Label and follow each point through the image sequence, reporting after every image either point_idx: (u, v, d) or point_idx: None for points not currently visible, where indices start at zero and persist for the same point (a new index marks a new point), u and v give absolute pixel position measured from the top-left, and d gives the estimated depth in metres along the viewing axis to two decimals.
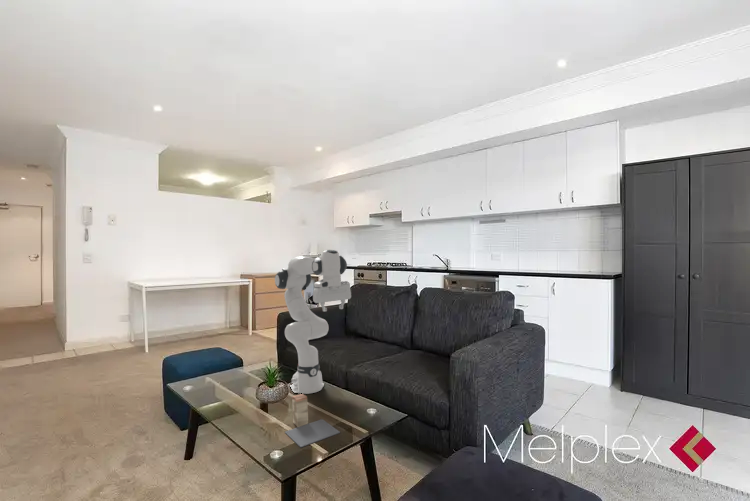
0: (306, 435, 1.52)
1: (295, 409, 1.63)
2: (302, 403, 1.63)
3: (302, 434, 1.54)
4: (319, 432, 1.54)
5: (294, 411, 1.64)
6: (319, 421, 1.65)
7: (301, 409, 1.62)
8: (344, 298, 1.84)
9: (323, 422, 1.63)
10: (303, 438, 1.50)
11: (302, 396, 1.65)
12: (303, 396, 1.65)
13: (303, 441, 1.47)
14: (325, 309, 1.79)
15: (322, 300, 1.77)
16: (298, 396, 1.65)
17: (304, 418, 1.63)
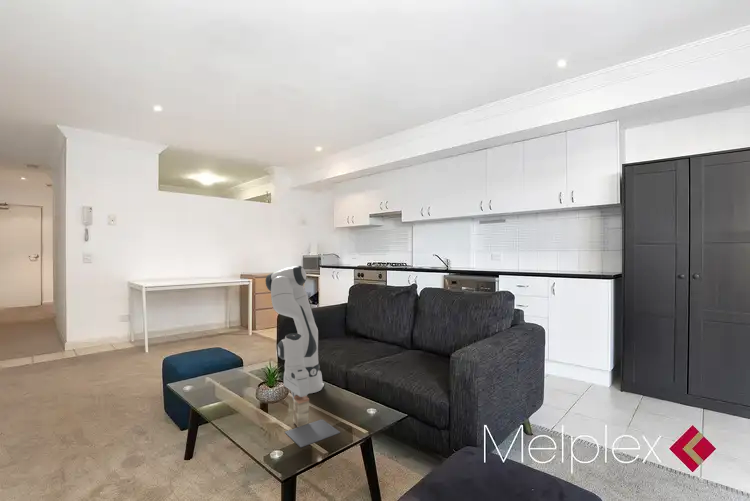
0: (306, 435, 1.52)
1: (296, 409, 1.62)
2: (304, 404, 1.61)
3: (302, 434, 1.54)
4: (319, 432, 1.54)
5: (294, 411, 1.63)
6: (319, 421, 1.65)
7: (302, 410, 1.61)
8: None
9: (323, 422, 1.63)
10: (303, 438, 1.50)
11: (304, 397, 1.63)
12: (305, 397, 1.63)
13: (303, 441, 1.47)
14: None
15: None
16: (300, 397, 1.63)
17: (304, 419, 1.62)
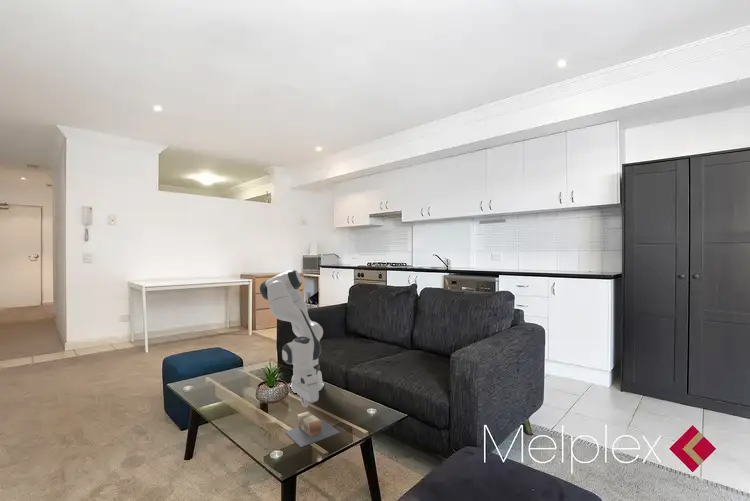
0: (306, 435, 1.52)
1: (305, 427, 1.55)
2: None
3: (302, 434, 1.54)
4: None
5: (303, 422, 1.57)
6: None
7: None
8: None
9: (323, 422, 1.63)
10: (303, 438, 1.50)
11: (318, 429, 1.54)
12: (318, 429, 1.54)
13: (303, 441, 1.47)
14: None
15: None
16: (315, 427, 1.53)
17: None
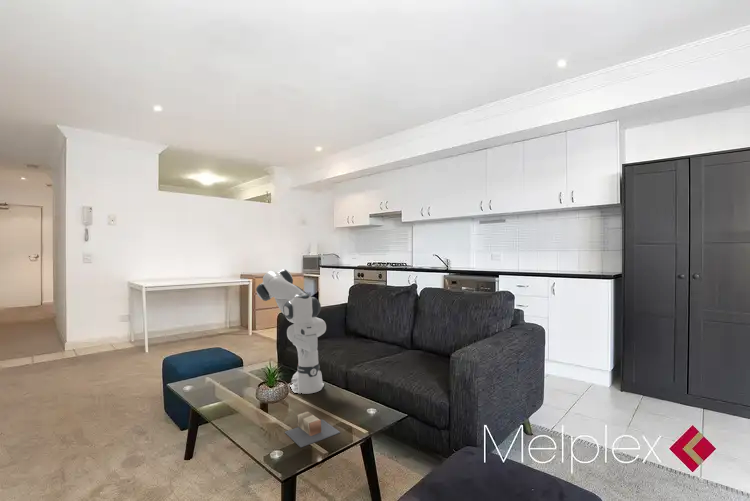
0: (306, 435, 1.52)
1: (305, 427, 1.55)
2: None
3: (302, 434, 1.54)
4: None
5: (303, 422, 1.57)
6: None
7: None
8: None
9: (323, 422, 1.63)
10: (303, 438, 1.50)
11: (318, 429, 1.54)
12: (318, 429, 1.54)
13: (303, 441, 1.47)
14: None
15: None
16: (315, 427, 1.53)
17: None
